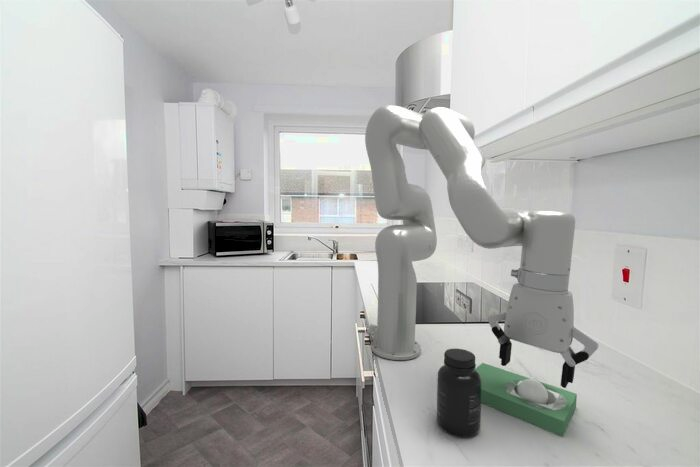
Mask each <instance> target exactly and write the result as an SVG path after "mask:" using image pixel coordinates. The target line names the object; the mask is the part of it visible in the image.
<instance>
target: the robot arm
mask: <svg viewBox="0 0 700 467" xmlns="http://www.w3.org/2000/svg"><path fill="white" fill-rule="evenodd" d="M475 132H476V131H475V127H474V124H473V121H472V120H471V119H470V118H469V117H468V116H466V115H464V114H462V113H460V112H457V111H455V110H454V109H452V108H448V107H443V106H437V107H432V108H430V109H428V110H427V111H425V112H424V113H423V114H422V113H419V112H417V111H414V110H411V109H409V108H406V107H403V106H399V105H396V104H395V105H394V104H386V105H382V106H380V107H379V108H377V109H376V110H374V112H373V113H372V115H371V116H370V117H369V120H368V122H367V125H366V128H365V134H364V143H365V148H366V153H367V158H368V161H369V166H370V171H371V179H372V188H373V194H374V202H375V203H374V204H375V208H376V211H377V214H378V216H380V217H381V218H382V219H385V220H390V221H402V224H393V225H389V226H386V227H384V228H383V229H381V230H380V231H379V233H378V234H377V235H376V238H375V245H374V246H375V247H374V248H375V249H374V250H375V255H376V260H377V261H376V262H377V271H378V272H377V274H378V276H377V277H378V278H377V279H378V280H377V281H378V283H377V288H378V289H377V319H376V320H377V323H376V324H377V325H375V324H370V325H369V326H368V329H366V334H367V335H368V336H369V335H370V336H372V337H373V340H372V341H371V342H370V350H371V351H372V353H374V354H375V355H376V356H377V357H380V358H383V359H387V360H392V361H409V360H412V359H415V358H417V357H419V356H420V354H421V353H422V346H421V344H420V343H418V342H417V341H416V320H417V319H416V317H417V315H416V314H417V291H418V289H417V288H418V284H417V283H418V280H417V276H416V271H415V269H414V265H413V262H419V261H424V260H427V259H429V258H430V257H432V256H433V254H434V253H435V251H436V248H437V242H438V241H437V240H438V238H437V231H436V224H435V217H434V211H433V205H432V200H431V197H430V195H429V193H428V192H427V191H426V189H425V188H423V187H422V186H420V185H417V184H413V183H409V182H408V178H407V175H406V174H407V173H406V166H405V162H404V159H403V156H402V155H401V153H400V152H399V149H398V146H397V145H399V146H404V147H408V148H412V149H415V150H416V149H418V150H426V151H429V153H430V154H431V156H432V157H433V159H434V161H435V163H436V164H437V165H438V167H439V169H440V170H441V172H442V174H443V176H444V178H445V180H446V190H447V195H448V196H447V197H448V202H449V204H450V207H451V210H452V212H453V214H454V215H455V217H456V219H457V221H458V223H459V224H460V225H461V227H462V229H463V231H464V232H465V234H466V235H467V236H468V237H469V239H470V240H471V241H472V242H473V243H475V244H476V245H477V246H479V247H481V248H484V249H488V250H489V249H490V250H491V249H500V248H507V247H508V248H509V247H510V248H511V247H521V254H520V264H519V265H520V266H519V268H517V269H513V268H512V269H511V271H510V276H511V277H513V278H515V279H516V281H517V283H513V285H512V288H511V290H510V294H509V299H508V303H507V307H506V311H505V312H499V313H495V314H491V315H489V316H488V317H487V321H488V324H489V326H490V328H491V332H492V333H493V335H494V337H496V339H497V342H498V344H499V353H498V354H499V355H498V358H499V359H501V360H500V366H502V367H506V366H507V365H508V364H509V363H510V362H511V357H512V347H513V346H512V345H513V343H512V341H511V340H513V341H514V342H517V343H518V342H519V343H521V344H525V345H528V346H531V347H535V348H538V349H540V350H541V349H542V350H545V351H548V352H551V353H554V354H555V353H556V354H560V355H561V357H562V358H563V360H564V363H562V369H561V376H560V377H561V378H560V386H561V388H562V389H567V386H568V385H569V383H571V384H573V382H574V379H575V378H574V377H575V371H576V365H579V364H581V363H583V362H585V361H587V360H589V358H590V357H591V356H592V355H593V354H595V352H596V351H597V350H598V349H599V346H600V345H599V343H597V342H596V341H595V340H594V339H592V338H591V337H589V336H588V335H587V334H584V333H583V332H582V331H580V329H578V328H577V327H575V326H574V324H575V323H574V320H575V317H574V316H575V315H574V312H575V311H574V309H575V308H574V298H573V292H571V291H569V283H570V275H571V267H572V266H571V265H572V264H571V263H572V257H573V246H574V239H575V229H576V218H575V216H574V214H573V213H571V212H567V211H560V210H559V211H558V210H531V211H530V210H524V209H520V208H519V209H518V208H512V207H500V205H498V204H497V202H496V200H495V199H494V198H493V195H492V194H491V193H490V191H489V190H488V188H487V187H486V184H485V183H484V180H483V177H482V169H483V167H484V166H485V163H486V157H485V155H484V153H483V152H482V150H481V149H480V147H479V146H478V144H477V143H476V142H475V141H474V139H475V136H476V135H475V134H476V133H475ZM501 321H504V325H503V326H504V327H503V329H502V327H501V326H500V323H499V322H501ZM573 339H574V340H576V341H577V342H579V343H580V344H582V345H583V346H584V348H583V349H582V350H580V351H578V352H575V351H574V349H573V348H572V347H571V346H572V343H573Z"/></svg>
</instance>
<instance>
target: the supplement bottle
mask: <svg viewBox="0 0 700 467" xmlns="http://www.w3.org/2000/svg"><path fill="white" fill-rule="evenodd" d="M443 354H444V357H443V358H444V359H443V365H441V366H440V368H439V369H438V372H437V384H436V385H437V386H436V388H437V392H436V394H437V397H436V398H437V399H436V421H437V423H438V426H439V427H440V428H441V429H442V430H443V431H444V432H445V433H447V434H449V435H452V436H454V437H459V438H469V437H471V438H472V437H474V436H475V435H477V434H478V433H479V432H480V429H481V415H482V413H481V411H482V403H481V377H480V375H479V373H478V372H477V371H476V370H475V369H476V368H477V367H476V354H474V353H473V352H471V351H469V350H466V349H462V348H448V349H446V350H445V351H444V353H443Z"/></svg>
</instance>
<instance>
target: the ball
mask: <svg viewBox="0 0 700 467" xmlns="http://www.w3.org/2000/svg"><path fill="white" fill-rule="evenodd" d="M538 381H539V380H536V379H534V378H530V379H526V380H524V381H522V382H521V383H520V384H519V386H518V395H519V396H520V397H522V398H523V399H525V400H528V401H530V402H533V403H537V404H544V405H547V401H548V393H547V390H546V388H545V387H544V386H543V385H542V384H541V383H540V382H541V381H540V382H538Z"/></svg>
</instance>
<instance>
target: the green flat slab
mask: <svg viewBox="0 0 700 467" xmlns="http://www.w3.org/2000/svg"><path fill="white" fill-rule="evenodd" d="M475 370H476V371H477V372H478V373H479V375H480V377H481V404H483V405H486V406H489V407H491V408H493V409H495V410H499V411H501V412H503V413H506V414H508V415H510V416H512V417H515V418H517V419H520V420H522V421H525V422H527V423H530V424H531V425H534V426H537V427H539V428H541V429H544V430H546V431H549V432H551V433H553V434H556V435H559V436H561V437H564V436H565V433H566V431H567V428H568V427H569V424H570V422H571V419H572V417H573V415H574V414H575V413H574V412H575V410H576V408H577V396H578V395H577V394H578V393H576V392H572V391H569V390H566V389H565V388H562V387H561V388H560V387H557V386H554V385H551V384H548V383H545V382H543V381H540V380H537V381H538V382H540V383H541V384H542V385H543V386H544V387H545V388H546V390H547V393H548V401H547V403H546V404H545V405H544V404H537V403H533V402H530V401H528V400H525V399H523V398H522V397H520V396H519V395H518V386H519V384H520V383H521V382H522V381H524V380H526V379H531V378H530V377H527V376H524V375H520V374H518V373H515V372H512V371H509V370H506V369H503V368H499V367H497V366H493V365H492V364H487V363H485V362H482V363H480V364H479V365H478V366H477V367H476V368H475Z"/></svg>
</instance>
